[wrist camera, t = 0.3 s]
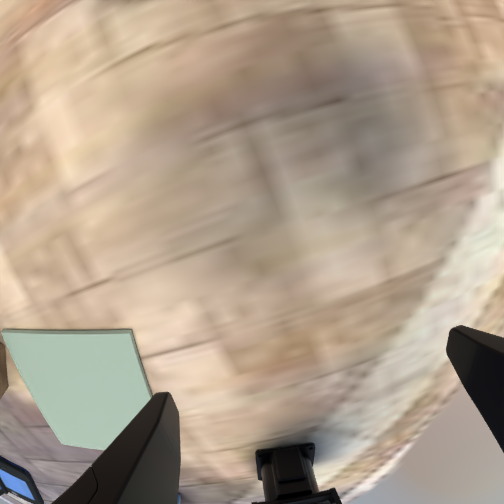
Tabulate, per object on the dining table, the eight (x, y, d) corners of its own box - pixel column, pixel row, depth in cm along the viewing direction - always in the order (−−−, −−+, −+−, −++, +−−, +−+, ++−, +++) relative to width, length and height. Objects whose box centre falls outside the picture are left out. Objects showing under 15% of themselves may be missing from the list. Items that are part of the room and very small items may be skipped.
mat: (172, 449, 28) (172, 454, 28) (63, 440, 28) (61, 444, 27) (131, 329, 23) (129, 333, 23) (3, 329, 22) (0, 332, 22)
